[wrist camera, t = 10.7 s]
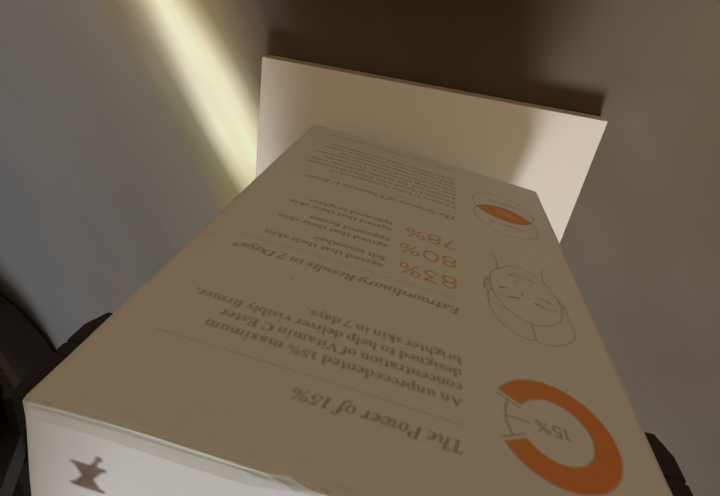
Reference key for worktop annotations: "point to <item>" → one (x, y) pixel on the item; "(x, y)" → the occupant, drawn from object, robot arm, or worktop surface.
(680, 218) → the worktop surface
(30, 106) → the worktop surface
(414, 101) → the ceramic tile
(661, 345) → the worktop surface
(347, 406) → the small box
